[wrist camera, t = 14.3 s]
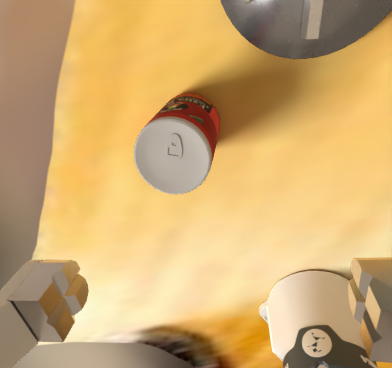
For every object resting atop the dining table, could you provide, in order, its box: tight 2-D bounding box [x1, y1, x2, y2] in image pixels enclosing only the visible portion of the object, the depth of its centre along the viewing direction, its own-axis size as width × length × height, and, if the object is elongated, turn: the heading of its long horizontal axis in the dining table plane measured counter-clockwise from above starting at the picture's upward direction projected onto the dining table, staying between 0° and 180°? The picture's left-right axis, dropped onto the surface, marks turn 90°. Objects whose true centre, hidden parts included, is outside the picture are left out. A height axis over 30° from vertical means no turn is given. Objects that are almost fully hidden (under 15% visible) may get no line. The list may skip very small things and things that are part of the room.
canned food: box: [134, 94, 220, 194], centre depth 32 cm, size 8×8×11 cm
